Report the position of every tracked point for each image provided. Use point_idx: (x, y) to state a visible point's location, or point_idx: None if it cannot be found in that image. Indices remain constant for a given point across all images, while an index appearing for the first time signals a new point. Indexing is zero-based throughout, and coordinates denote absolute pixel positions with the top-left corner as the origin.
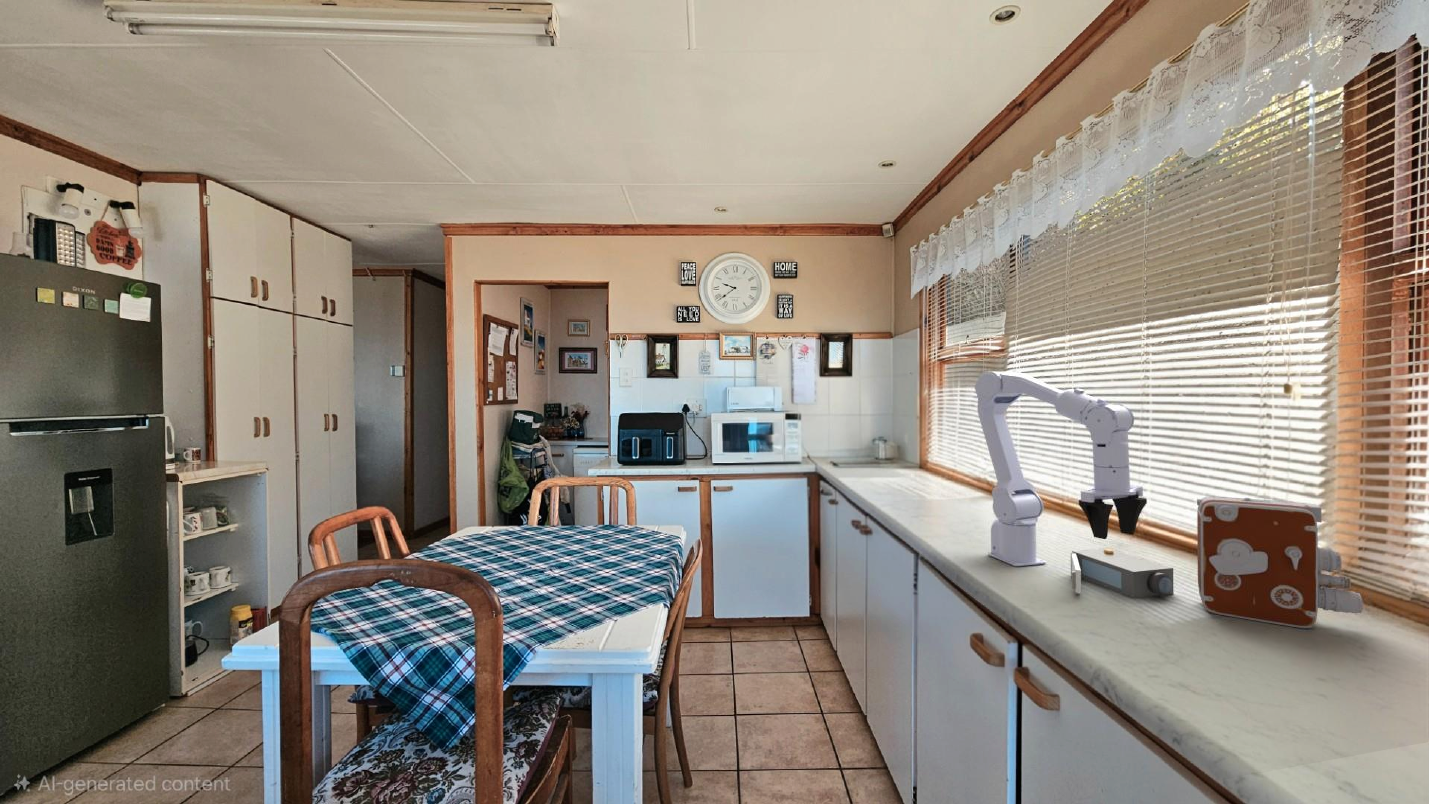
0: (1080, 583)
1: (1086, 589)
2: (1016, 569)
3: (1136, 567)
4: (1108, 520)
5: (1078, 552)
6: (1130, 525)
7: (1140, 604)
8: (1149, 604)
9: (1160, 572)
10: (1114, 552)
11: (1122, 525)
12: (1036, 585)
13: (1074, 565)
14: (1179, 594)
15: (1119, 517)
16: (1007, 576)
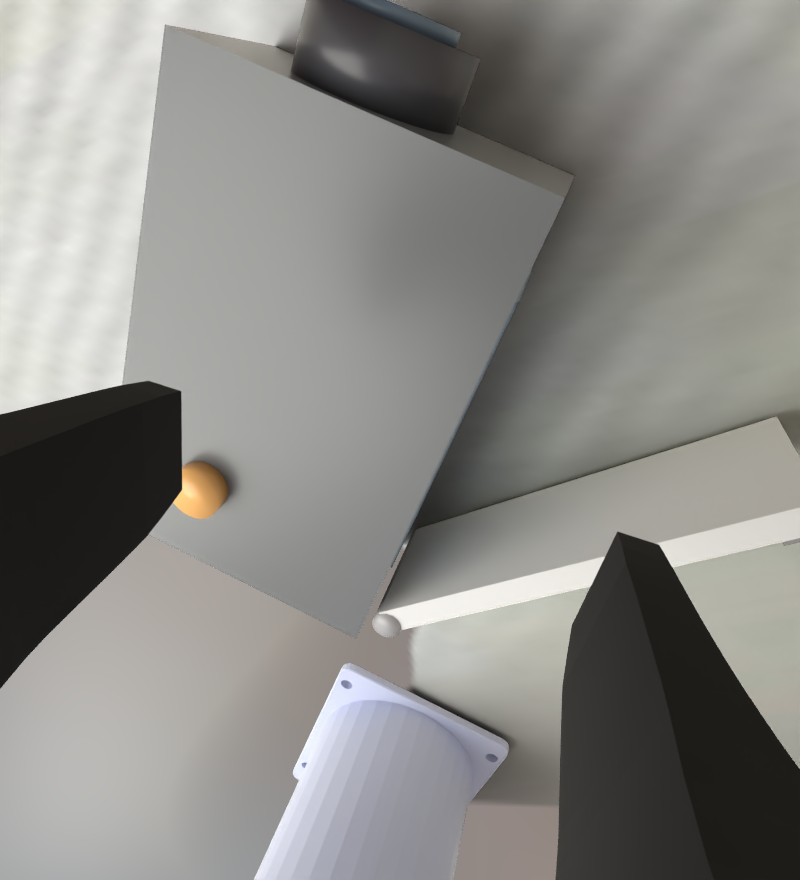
0: (795, 450)
1: (612, 426)
2: (541, 731)
3: (403, 234)
4: (678, 729)
5: (357, 608)
6: (100, 455)
7: (681, 89)
8: (630, 47)
9: (303, 80)
10: None
11: (123, 527)
12: (756, 621)
13: (676, 562)
14: (245, 19)
15: (50, 619)
16: None
